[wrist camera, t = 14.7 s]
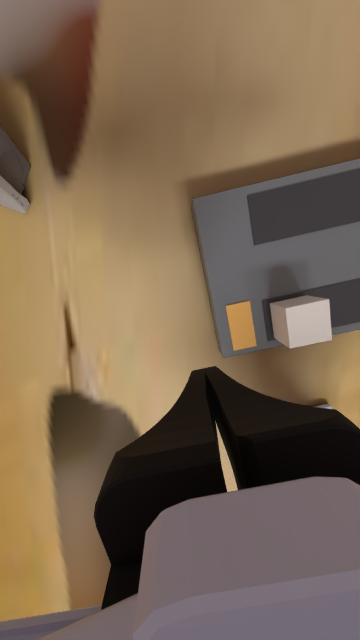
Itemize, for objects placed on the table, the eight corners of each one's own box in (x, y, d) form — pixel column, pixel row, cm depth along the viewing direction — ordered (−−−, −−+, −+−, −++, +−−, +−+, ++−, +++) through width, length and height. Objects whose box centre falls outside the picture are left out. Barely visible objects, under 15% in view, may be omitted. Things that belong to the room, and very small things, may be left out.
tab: (310, 330, 18) (332, 339, 15) (274, 338, 18) (290, 348, 15) (306, 295, 17) (329, 298, 15) (269, 303, 17) (285, 308, 15)
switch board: (475, 296, 20) (510, 298, 17) (218, 349, 21) (223, 358, 18) (487, 136, 17) (530, 116, 15) (191, 206, 18) (192, 198, 16)
